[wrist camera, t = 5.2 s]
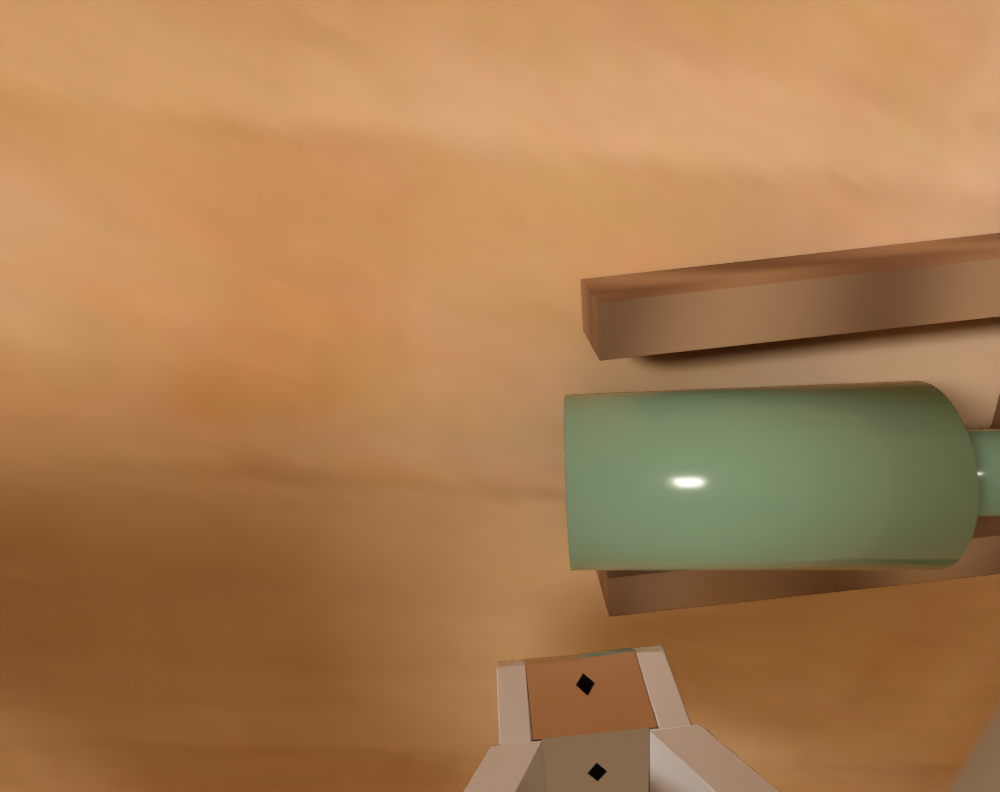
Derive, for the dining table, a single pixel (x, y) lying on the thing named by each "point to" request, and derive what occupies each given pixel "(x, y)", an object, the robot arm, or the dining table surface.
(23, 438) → the dining table surface
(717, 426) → the bottle
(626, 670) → the robot arm
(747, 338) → the cradle
